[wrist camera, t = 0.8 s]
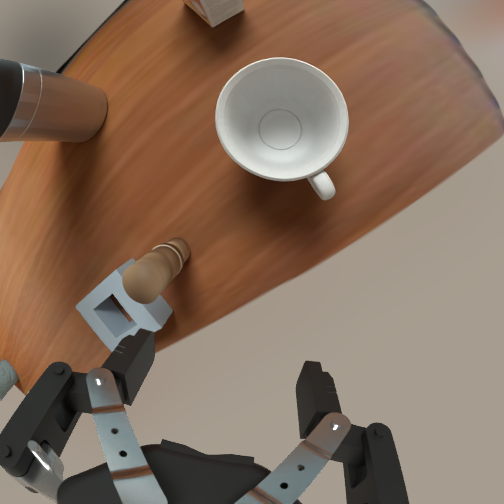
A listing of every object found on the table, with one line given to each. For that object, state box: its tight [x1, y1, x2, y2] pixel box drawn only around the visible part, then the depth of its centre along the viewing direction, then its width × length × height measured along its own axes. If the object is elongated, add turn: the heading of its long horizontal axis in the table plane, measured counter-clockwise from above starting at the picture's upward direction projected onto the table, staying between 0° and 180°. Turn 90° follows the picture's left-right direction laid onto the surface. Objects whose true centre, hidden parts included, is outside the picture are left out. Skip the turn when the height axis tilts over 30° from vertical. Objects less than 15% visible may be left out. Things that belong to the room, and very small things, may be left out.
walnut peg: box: [122, 238, 190, 304], centre depth 31 cm, size 4×4×12 cm
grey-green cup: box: [0, 360, 18, 401], centre depth 48 cm, size 10×10×12 cm
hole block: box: [75, 258, 173, 352], centre depth 37 cm, size 12×10×5 cm
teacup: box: [215, 58, 349, 200], centre depth 26 cm, size 12×15×10 cm
